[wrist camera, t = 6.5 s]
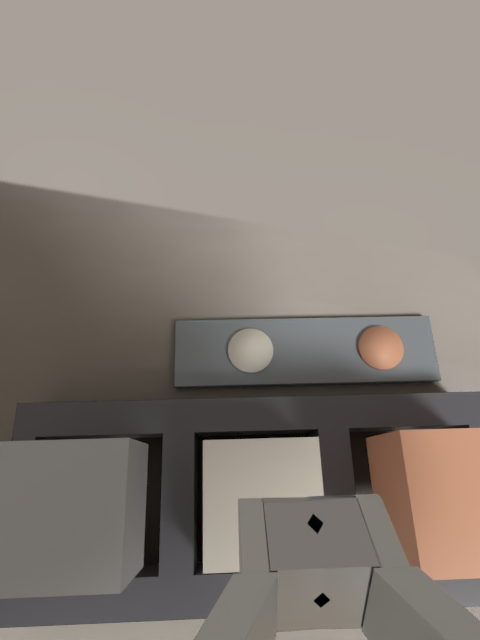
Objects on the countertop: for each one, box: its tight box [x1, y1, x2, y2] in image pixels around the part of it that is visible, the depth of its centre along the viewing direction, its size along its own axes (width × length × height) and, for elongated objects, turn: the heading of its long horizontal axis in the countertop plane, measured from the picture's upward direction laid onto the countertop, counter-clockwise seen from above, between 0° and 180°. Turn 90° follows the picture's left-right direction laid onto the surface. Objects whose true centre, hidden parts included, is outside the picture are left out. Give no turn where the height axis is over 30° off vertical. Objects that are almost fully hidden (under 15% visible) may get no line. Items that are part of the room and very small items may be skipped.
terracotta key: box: [366, 428, 480, 580], centre depth 16 cm, size 5×5×4 cm
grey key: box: [0, 438, 148, 599], centre depth 15 cm, size 5×5×4 cm
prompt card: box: [174, 316, 441, 388], centre depth 23 cm, size 14×4×1 cm, turn 92°
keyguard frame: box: [0, 392, 480, 628], centre depth 19 cm, size 22×9×2 cm, turn 92°
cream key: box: [203, 437, 324, 574], centre depth 18 cm, size 5×5×4 cm
